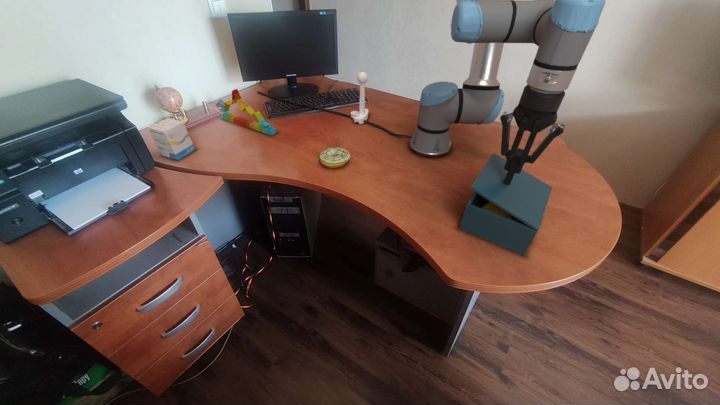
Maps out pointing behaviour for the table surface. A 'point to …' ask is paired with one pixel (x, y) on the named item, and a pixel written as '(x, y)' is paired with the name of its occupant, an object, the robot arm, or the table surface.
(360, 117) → the joystick
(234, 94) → the colourful triangular block frame
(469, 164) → the table surface
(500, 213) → the bread roll
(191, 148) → the ink box
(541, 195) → the lid
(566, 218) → the table surface
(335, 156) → the decorated donut
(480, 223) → the dark teal hollow box
